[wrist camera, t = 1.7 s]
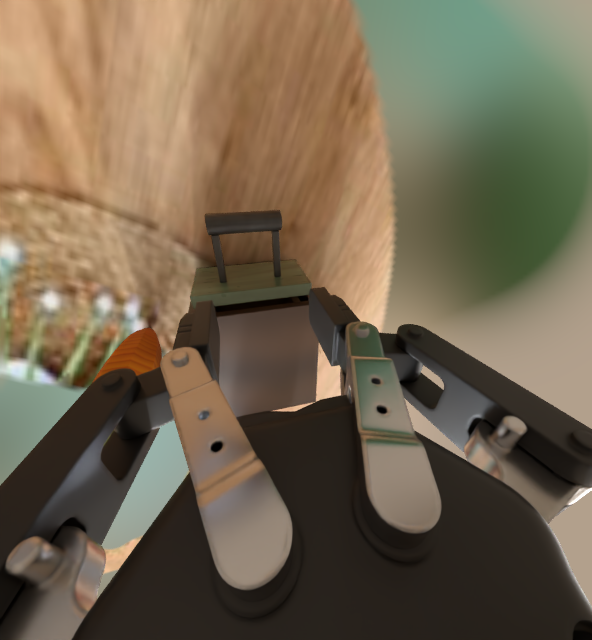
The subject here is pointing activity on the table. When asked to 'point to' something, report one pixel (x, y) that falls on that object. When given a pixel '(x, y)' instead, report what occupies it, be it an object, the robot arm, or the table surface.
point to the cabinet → (267, 357)
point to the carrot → (135, 354)
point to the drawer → (248, 268)
